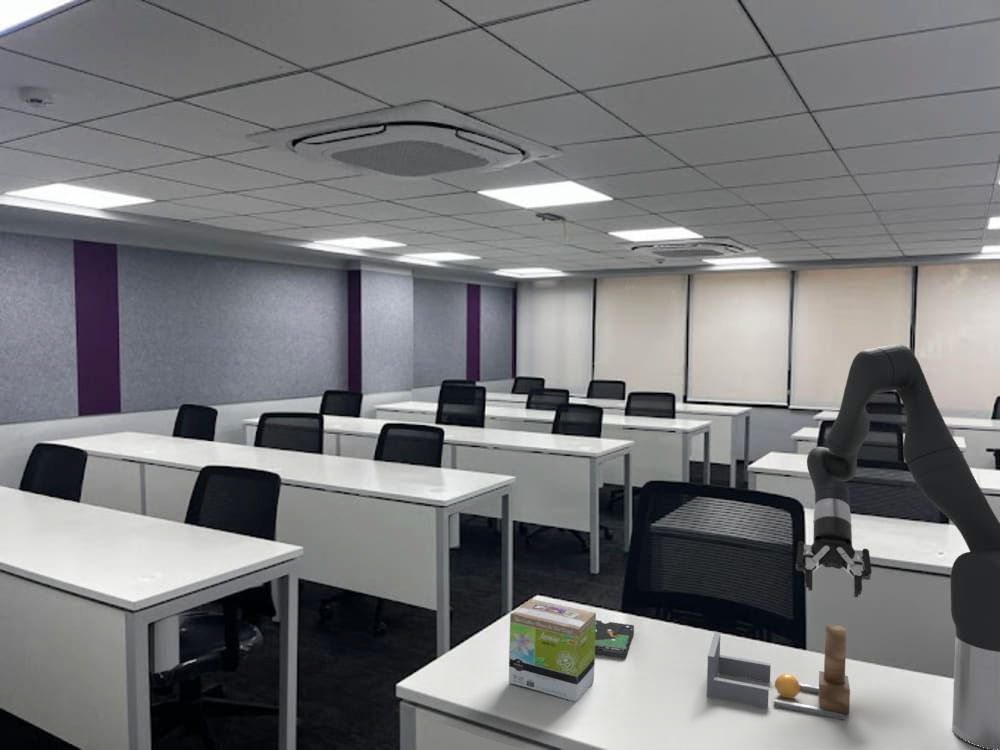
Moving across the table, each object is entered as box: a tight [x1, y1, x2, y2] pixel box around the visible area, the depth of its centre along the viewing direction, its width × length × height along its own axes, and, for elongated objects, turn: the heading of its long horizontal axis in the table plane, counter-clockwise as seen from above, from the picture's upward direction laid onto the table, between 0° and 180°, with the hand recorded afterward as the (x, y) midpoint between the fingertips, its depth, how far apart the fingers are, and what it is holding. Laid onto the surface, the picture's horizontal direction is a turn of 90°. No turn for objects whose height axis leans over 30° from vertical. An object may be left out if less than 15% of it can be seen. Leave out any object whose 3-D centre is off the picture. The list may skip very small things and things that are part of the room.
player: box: [818, 624, 851, 715], centre depth 134 cm, size 5×6×15 cm
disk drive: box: [595, 619, 635, 660], centre depth 162 cm, size 10×3×15 cm
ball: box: [774, 673, 801, 699], centre depth 137 cm, size 4×4×4 cm
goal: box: [706, 632, 772, 709], centre depth 141 cm, size 11×12×8 cm
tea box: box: [508, 598, 597, 703], centre depth 141 cm, size 15×10×15 cm, turn 62°
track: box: [773, 678, 845, 720], centre depth 136 cm, size 12×10×1 cm
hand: (833, 592), depth 144 cm, fingers open, 8 cm apart
